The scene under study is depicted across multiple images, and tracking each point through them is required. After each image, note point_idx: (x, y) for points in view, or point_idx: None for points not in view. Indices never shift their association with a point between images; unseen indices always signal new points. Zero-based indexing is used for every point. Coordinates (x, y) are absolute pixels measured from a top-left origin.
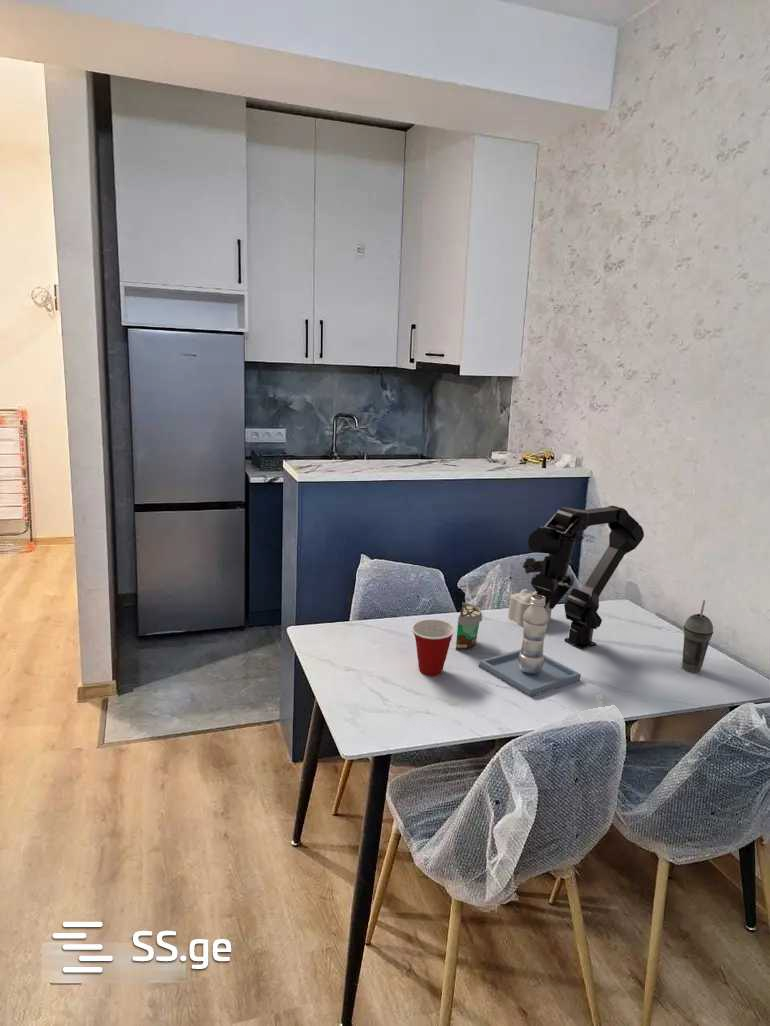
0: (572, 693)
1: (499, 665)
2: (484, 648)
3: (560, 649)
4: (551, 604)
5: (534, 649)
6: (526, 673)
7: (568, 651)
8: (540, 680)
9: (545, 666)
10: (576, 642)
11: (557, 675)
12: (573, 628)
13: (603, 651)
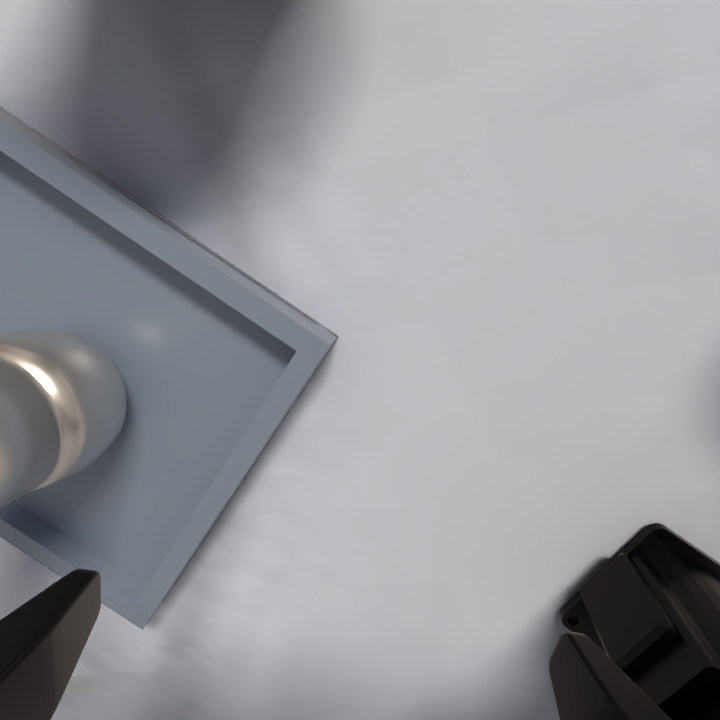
0: (28, 575)
1: (41, 216)
2: (261, 40)
3: (500, 506)
4: (582, 704)
5: None
6: None
7: (491, 547)
8: None
9: (185, 456)
10: (587, 607)
11: (122, 517)
12: (663, 651)
13: None
